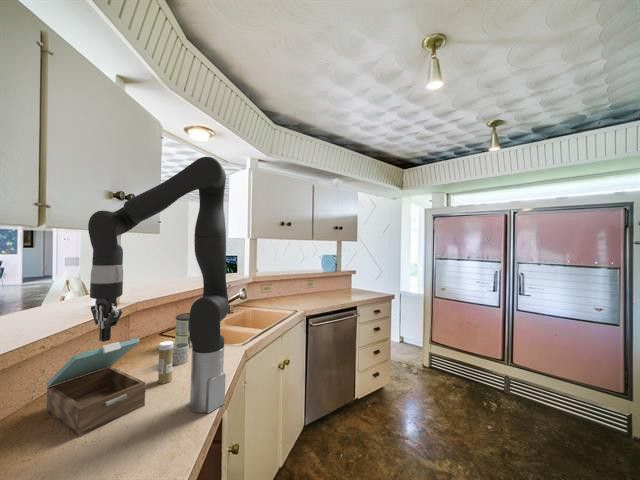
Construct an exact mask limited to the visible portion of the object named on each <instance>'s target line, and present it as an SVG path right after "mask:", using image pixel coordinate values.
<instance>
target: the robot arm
mask: <svg viewBox="0 0 640 480" xmlns="http://www.w3.org/2000/svg"><path fill="white" fill-rule="evenodd" d="M226 181H227V175H226V171H225V170H224V168H223V166H222V164H221V163H220V161H218V159H216V158H213V157H212V156H201V157H199V158H197V159H196V160H194V161H192V163H190V164H188V165H187V166H186V167H184V168H183V169H181V171H179V172H177V173H176V174H175V175H173V176H171V177H169V178H168V179H166V180H165V181H162V182H161V183H159V184H158V185H156V186H154V187H152V188H150V189H148V190H145V191H144V192H141V193H140V194H138V195H135V196H133V197H132V198H129V199H128V200H126V201H124V203H123V206H122V207H121V208H119V209H117V210H115V211H110V210H109V211H108V210H98V211H95V212H94V213H93V214H91V216H90V218H89V220H88V224H87V228H88V229H87V231H88V236H89V240H90V244H91V247H92V262H91V263H92V264H91V271H90V281H89V284H90V285H89V298H90V299H94V300H95V305H91V306H90V311H91V313H92V318H93V321H94V324H95V326H97V327H98V329H99V335H98V336H99V338H98V340H99V341H100V342H103V343H104V342H107V341H110V340H111V337H112V335H111V333H112V328H113V327H114V326H115V327H116V326H117V323H118V322H119V320H120V318H121V315H122V314H123V311H122V309H118V298H120V297H121V296H122V295H123V290H124V289H123V288H124V268H123V267H124V266H123V265H124V263H123V262H124V249H123V247H122V246H121V245H119V243H118V236H121V235H123V234H125V233H127V232H129V231H130V230H132V229H133V228H135V227H136V226H138V225H139V224H140V223H142V222H143V221H145V220H148V219H150V218H151V217H154V216H155V215H157V214H159V213H162V212H163V211H164V210H166V209H167V208H169V207H171V205H173V204H174V203H175V202H177V201H178V200H179V199H180V198H182V197H184V196H185V195H187V194H189V193H192V192H194V191H197V190H198V196H199V197H198V199H199V206H198V207H199V208H198V214H197V217H196V222H195V225H194V226H195V227H194V239H193V240H194V242H193V243H194V255H195V258H196V259H195V260H196V261H197V264H198V266H199V270H200V272H201V275H202V280H203V281H202V282H203V287H202V288H203V289H202V297H200V298H198V299H196V300H195V301H194V302H193V303H192V304H191V307H190V309H189V313H190V316H189V332H190V341H191V343H192V348H191V365H190V366H191V367H190V368H191V369H190V390H189V391H190V394H189V395H190V397H189V398H190V399H189V401H190V402H189V408H190V410H191V411H193V412H194V413H198V414H199V413H203V414H204V413H207V414H210V413H211V412H213V411H215V410H217V409H218V408H220V407H221V406H223V405H224V404H225V403H226V401H225V400H226V398H225V397H226V374H227V373H226V372H224V366H225V365H224V361H225V360H224V359H225V357H224V356H225V337H224V335H222V334H221V321H222V320H224V319H225V318H226V316H227V315H228V312H229V309H230V305H229V303H230V302H229V296H228V295H229V294H228V288H227V234H226V233H227V230H226V218H225V211H224V205H225V204H224V202H225V189H226Z"/></svg>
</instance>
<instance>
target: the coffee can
mask: <svg viewBox="0 0 640 480" xmlns="http://www.w3.org/2000/svg"><path fill="white" fill-rule="evenodd" d="M189 316H190V312H184V313H179V314H177V315H176V316H175V336H174V337H175V339H174V340H175V341H174V342H175V343H174V344H176V343H188V344H189V349H192V343H191V341H190V332H189Z"/></svg>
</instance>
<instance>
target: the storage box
mask: <svg viewBox="0 0 640 480" xmlns="http://www.w3.org/2000/svg"><path fill="white" fill-rule="evenodd" d="M46 388H47V389H46V413H47V414H49V415H50V416H51V417H52V418H53V419H55V420H56V421H58V422H59V423H60V424H62V425H63V426H64V427H65V428H67V429H68V430H69V431H70V432H72V433H73V434H74V435H76V436H77V437H78V438H80V437H82V436H84V435H86V434H88V433H90V432H92V431H95V430H97V429H98V428H101V427H103V426H105V425H107V424H109V423H112V422H113V421H115V420H117V419H120V418H121V417H124V416H125V415H128V414H130V413H131V412H134V411H136V410H138V409H140V408H142V407H144V406H145V405H146V404H145V403H146V381H145V380H144V381H143V380H141V379H140V378H137V377H135V376H133V375H130V374H128V373H127V372H123V371H121V370H120V369H118V368H115V367H113V366H110V367H107V368H104V369H101V370H98V371H95V372H92V373H89V374H86V375H83V376H80V377H77V378H74V379H71V380H68V381H65V382H62V383H59V384H56V385H53V386H49V387H47V386H46Z"/></svg>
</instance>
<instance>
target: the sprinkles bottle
mask: <svg viewBox="0 0 640 480" xmlns="http://www.w3.org/2000/svg"><path fill="white" fill-rule="evenodd" d="M173 344H174V341H172V340H166V341H162V342H160V343H159V344H158V366H157V367H158V368H157V369H158V370H157V373H158V374H157V375H158V378H157V379H158V380H157V383H158V384H161V385H162V384H163V385H164V384H168V383H170V382H172V380H173V365H172V359H173V358H172V355H173Z"/></svg>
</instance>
